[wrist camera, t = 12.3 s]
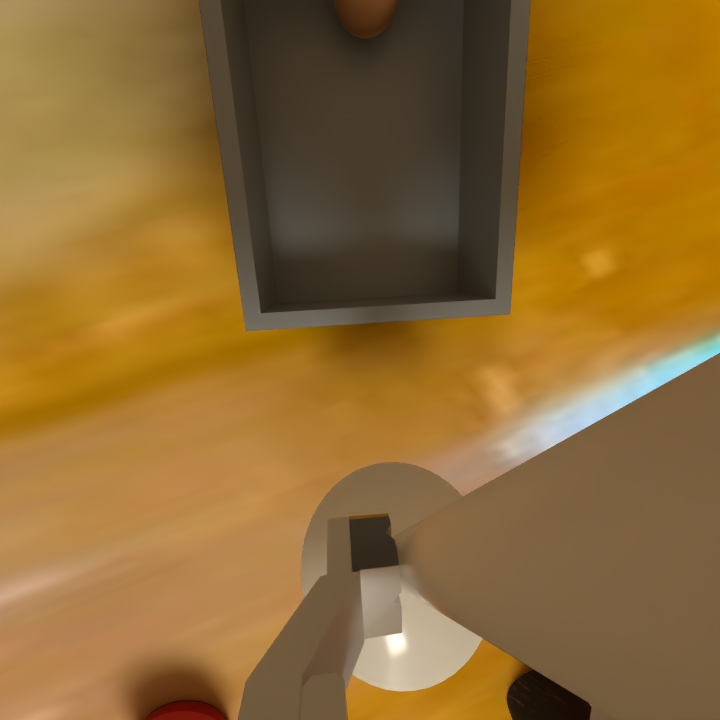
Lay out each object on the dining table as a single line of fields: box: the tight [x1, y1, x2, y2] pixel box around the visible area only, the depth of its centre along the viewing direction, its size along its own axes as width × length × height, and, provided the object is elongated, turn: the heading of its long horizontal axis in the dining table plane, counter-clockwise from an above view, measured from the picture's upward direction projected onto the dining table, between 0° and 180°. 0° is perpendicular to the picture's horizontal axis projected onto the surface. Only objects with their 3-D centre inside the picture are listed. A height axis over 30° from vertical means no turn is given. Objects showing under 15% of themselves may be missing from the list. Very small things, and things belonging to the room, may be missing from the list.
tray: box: [199, 0, 530, 331], centre depth 17 cm, size 13×18×6 cm
